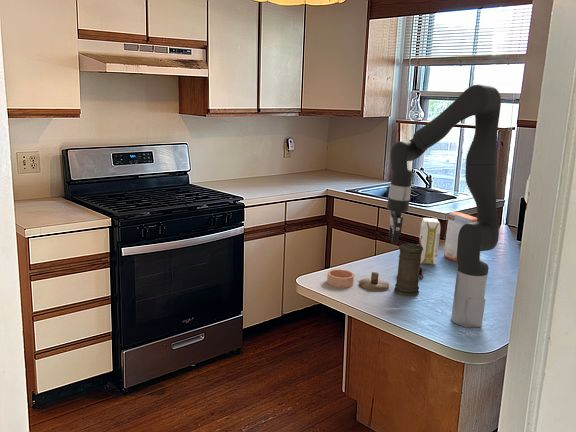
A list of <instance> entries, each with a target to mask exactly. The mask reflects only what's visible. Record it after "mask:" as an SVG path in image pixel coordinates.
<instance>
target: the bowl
mask: <svg viewBox="0 0 576 432" xmlns="http://www.w3.org/2000/svg"><path fill="white" fill-rule="evenodd" d="M326 278H327V279H326V282H327V284H328V285H330V286H331V287H335V288H340V289H341V288H345V289H346V288H351V287H353V286H354V283H355V274H354V272H353V271H351V270H348V269H341V268H340V269H339V268H336V269H331V270H329V271H328V272H327V275H326Z"/></svg>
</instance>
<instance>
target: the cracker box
mask: <svg viewBox="0 0 576 432" xmlns="http://www.w3.org/2000/svg"><path fill="white" fill-rule="evenodd" d="M474 222H477V216H473V215H469V214H466V213H463V212H461V211H450V212H448V219H447V227H446V234H445V235H446V236H445V243H444V250H443V256H444V257H445V258H447V259H450V260H452V261H454V262H456V263H457V243H458V234H459V231H460V229H461V227H462V226H463V225H464V224H467V223H474Z"/></svg>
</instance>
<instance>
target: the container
mask: <svg viewBox="0 0 576 432" xmlns="http://www.w3.org/2000/svg"><path fill="white" fill-rule="evenodd" d="M398 248H399V255H398V267H397V268H398V269H397V275H396V283H395V285H394V288H393V289H394V293H396V294H397V295H400V296H401V297H402V296H403V297H417V296H418V295H419V293H420V290H419V289H420V287H419V282H420V277H419V276H420V275H419V270H420V266H421V263H420V261H421V253H422V251H423V247H422V246H420V245H419V243H418V244H417V243H412V242H403V243H400V244H399V247H398Z"/></svg>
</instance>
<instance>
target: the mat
mask: <svg viewBox="0 0 576 432" xmlns="http://www.w3.org/2000/svg"><path fill="white" fill-rule="evenodd" d="M357 282H358V283H359V282H360V280H357ZM365 290H366V291H367V292H369V293H370V292H373V291H372V290H367V289H365ZM391 291H392V290H391V289H390V287H389V288H388V289H387V290H384V291H383V292H391Z"/></svg>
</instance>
